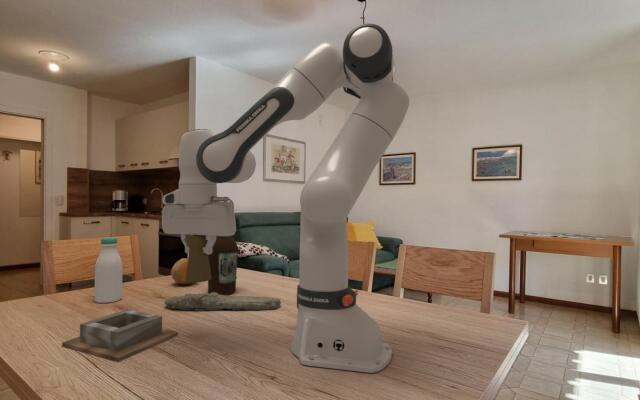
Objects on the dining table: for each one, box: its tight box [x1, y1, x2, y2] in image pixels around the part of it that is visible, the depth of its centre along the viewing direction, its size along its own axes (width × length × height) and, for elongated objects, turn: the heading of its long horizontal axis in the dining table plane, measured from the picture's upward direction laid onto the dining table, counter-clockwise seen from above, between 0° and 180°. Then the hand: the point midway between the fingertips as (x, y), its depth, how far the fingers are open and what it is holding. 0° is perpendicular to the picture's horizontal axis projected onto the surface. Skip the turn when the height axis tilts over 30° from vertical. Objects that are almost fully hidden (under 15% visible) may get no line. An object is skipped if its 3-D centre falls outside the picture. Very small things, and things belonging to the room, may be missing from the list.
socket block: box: [61, 309, 179, 363], centre depth 85 cm, size 18×16×5 cm
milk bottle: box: [94, 237, 123, 304], centre depth 118 cm, size 8×8×20 cm
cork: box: [185, 235, 211, 283], centre depth 89 cm, size 6×6×11 cm
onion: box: [170, 257, 193, 286], centre depth 140 cm, size 10×10×10 cm
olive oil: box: [207, 235, 239, 296], centre depth 130 cm, size 11×11×25 cm
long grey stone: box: [164, 292, 282, 312], centre depth 113 cm, size 35×5×10 cm
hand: (198, 253), depth 89 cm, fingers closed on cork, 4 cm apart
